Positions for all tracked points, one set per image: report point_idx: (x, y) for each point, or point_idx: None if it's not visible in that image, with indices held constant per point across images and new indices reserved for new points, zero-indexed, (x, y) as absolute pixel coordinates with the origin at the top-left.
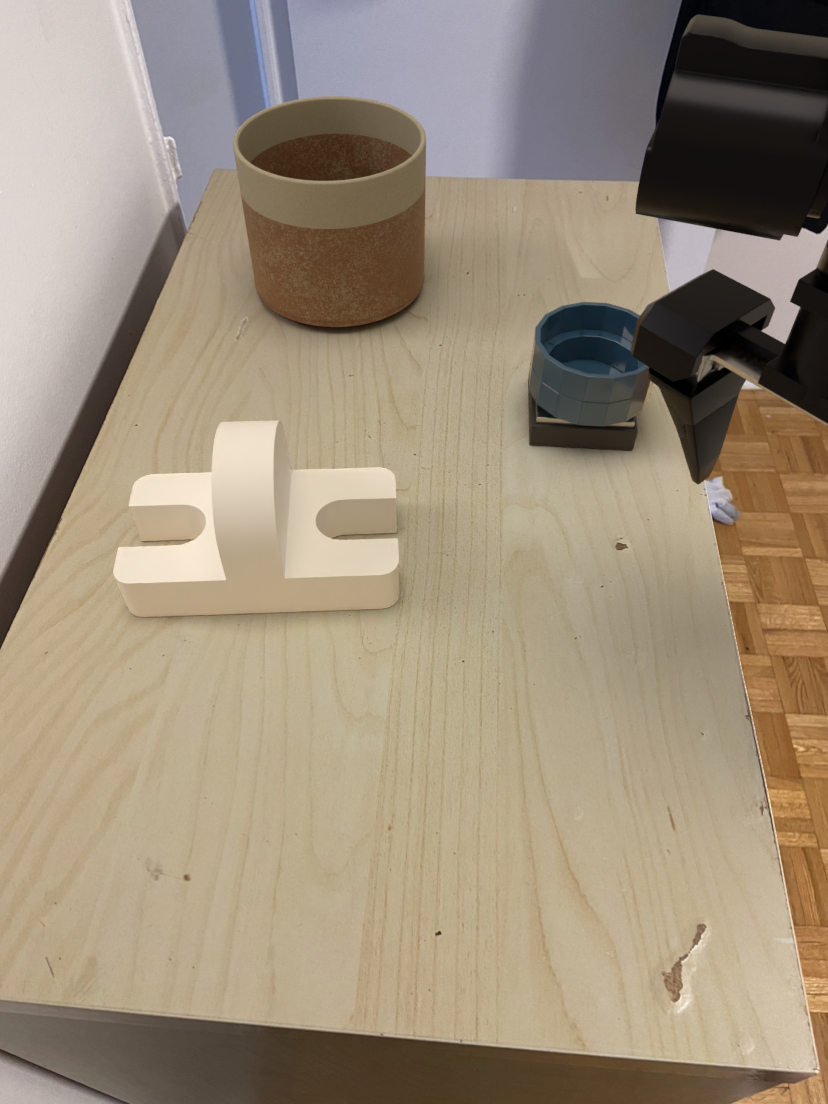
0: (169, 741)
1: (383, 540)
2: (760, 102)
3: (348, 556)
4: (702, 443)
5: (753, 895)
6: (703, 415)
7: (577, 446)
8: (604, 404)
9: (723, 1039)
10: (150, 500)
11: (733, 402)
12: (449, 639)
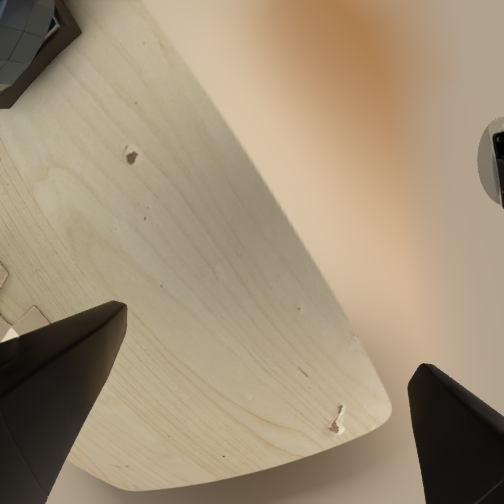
0: None
1: (9, 333)
2: None
3: None
4: (72, 429)
5: (364, 380)
6: (35, 493)
7: (38, 74)
8: (6, 63)
9: (362, 431)
10: None
11: (12, 403)
12: None
